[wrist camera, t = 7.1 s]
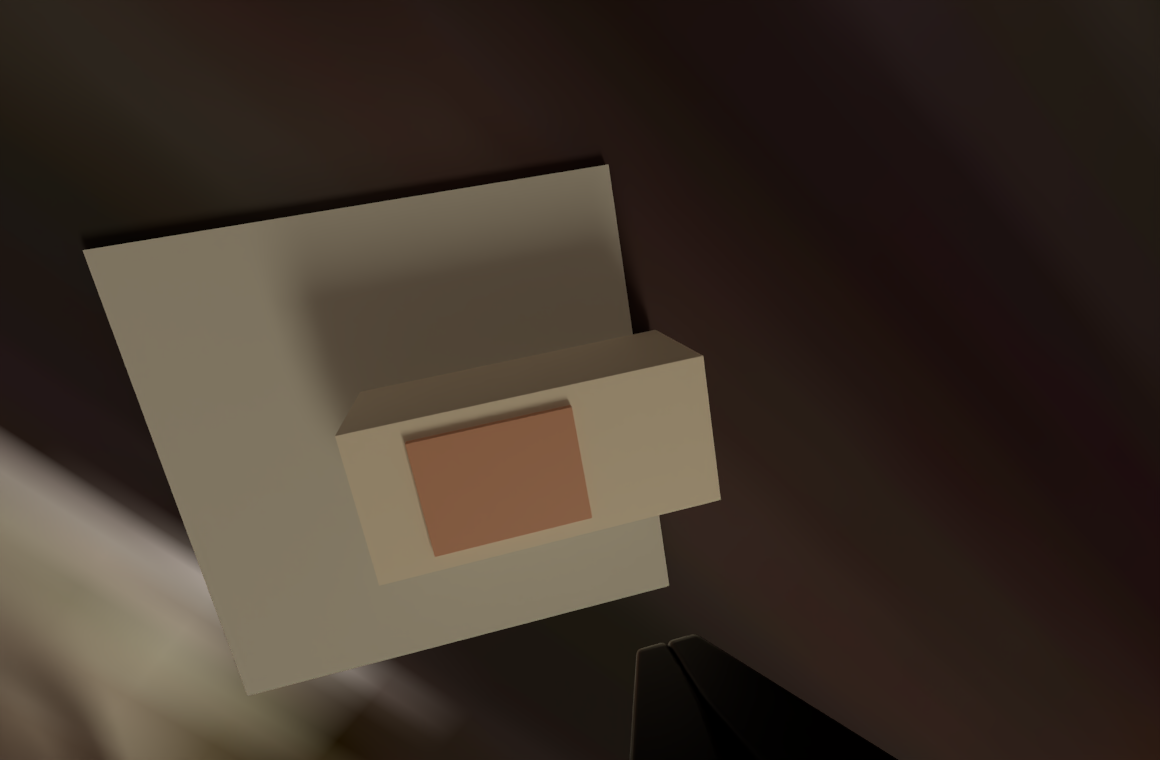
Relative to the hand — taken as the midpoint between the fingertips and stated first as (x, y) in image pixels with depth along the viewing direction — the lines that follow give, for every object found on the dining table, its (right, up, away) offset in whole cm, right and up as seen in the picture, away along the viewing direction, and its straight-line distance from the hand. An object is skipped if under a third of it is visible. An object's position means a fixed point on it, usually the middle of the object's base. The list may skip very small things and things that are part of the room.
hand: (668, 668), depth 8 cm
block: (+2, +3, +10) cm, 10 cm away
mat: (-6, +2, +11) cm, 13 cm away
